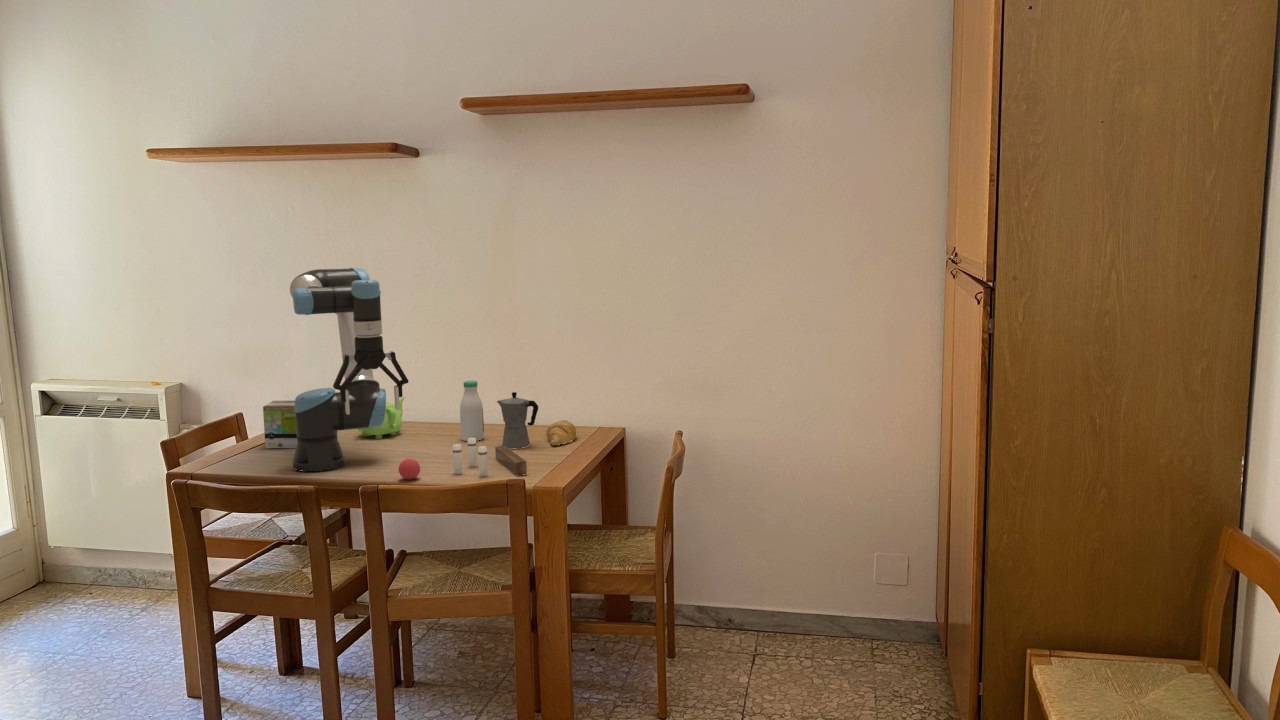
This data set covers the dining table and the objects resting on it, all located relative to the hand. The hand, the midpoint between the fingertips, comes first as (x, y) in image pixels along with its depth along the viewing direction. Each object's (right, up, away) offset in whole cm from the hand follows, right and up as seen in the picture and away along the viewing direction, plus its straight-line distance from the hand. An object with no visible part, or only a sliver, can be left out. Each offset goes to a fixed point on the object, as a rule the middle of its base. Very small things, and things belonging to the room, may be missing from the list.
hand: (372, 411), depth 261 cm
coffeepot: (+35, -14, +45) cm, 59 cm away
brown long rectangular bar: (+36, -18, +19) cm, 44 cm away
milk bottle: (+18, -13, +56) cm, 60 cm away
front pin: (+22, -19, +12) cm, 31 cm away
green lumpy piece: (-15, -12, +65) cm, 67 cm away
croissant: (+48, -13, +53) cm, 73 cm away
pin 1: (+24, -18, +20) cm, 36 cm away
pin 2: (+29, -19, +9) cm, 36 cm away
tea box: (-41, -15, +51) cm, 67 cm away
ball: (+9, -17, +6) cm, 20 cm away
